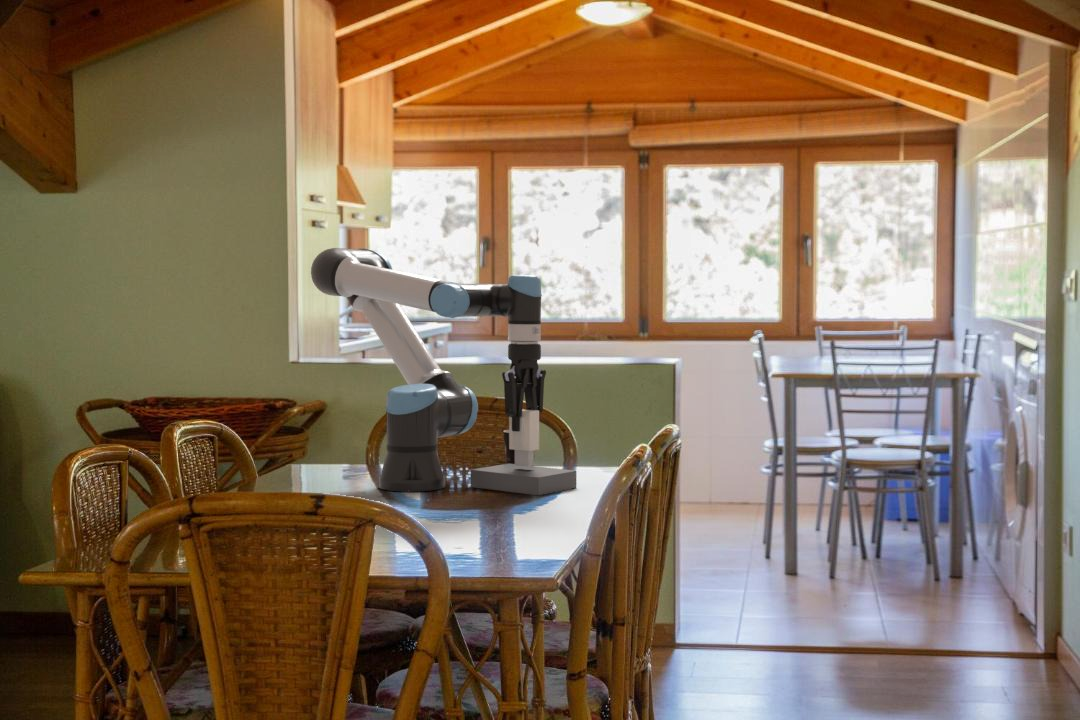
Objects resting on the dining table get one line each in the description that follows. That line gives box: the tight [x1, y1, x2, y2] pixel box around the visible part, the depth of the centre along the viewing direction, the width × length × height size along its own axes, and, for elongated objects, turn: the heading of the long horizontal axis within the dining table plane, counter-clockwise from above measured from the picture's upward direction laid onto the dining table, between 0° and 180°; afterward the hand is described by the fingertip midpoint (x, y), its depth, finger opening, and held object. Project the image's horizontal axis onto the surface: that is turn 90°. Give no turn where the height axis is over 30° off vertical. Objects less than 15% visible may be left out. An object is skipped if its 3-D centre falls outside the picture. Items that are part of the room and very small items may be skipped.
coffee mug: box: [502, 429, 536, 464], centre depth 326 cm, size 12×9×10 cm
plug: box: [508, 408, 540, 467], centre depth 298 cm, size 6×4×13 cm, turn 52°
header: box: [470, 463, 577, 496], centre depth 299 cm, size 20×14×4 cm
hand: (523, 444), depth 299 cm, fingers closed on plug, 3 cm apart
